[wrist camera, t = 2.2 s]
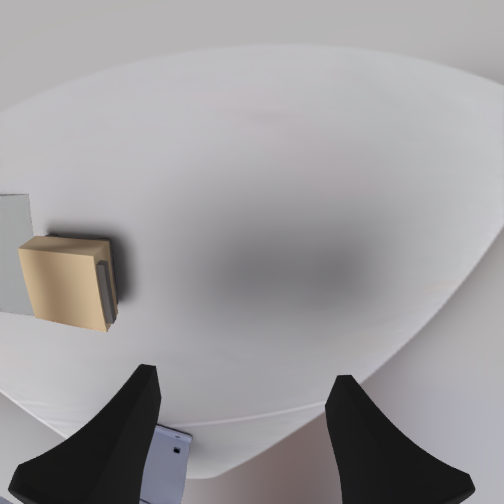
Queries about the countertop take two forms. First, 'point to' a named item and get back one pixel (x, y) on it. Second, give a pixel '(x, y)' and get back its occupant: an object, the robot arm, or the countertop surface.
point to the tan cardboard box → (71, 280)
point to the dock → (14, 253)
